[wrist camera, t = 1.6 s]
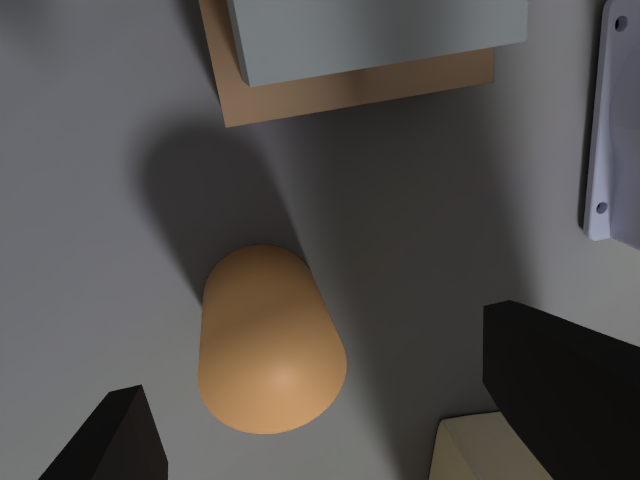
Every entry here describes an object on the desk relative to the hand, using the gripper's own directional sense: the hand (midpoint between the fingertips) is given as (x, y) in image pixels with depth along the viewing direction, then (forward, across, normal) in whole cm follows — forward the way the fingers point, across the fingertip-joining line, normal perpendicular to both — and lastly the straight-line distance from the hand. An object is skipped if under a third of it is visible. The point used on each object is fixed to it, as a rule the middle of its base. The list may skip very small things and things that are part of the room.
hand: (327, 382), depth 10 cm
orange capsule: (+9, +1, +2) cm, 9 cm away
